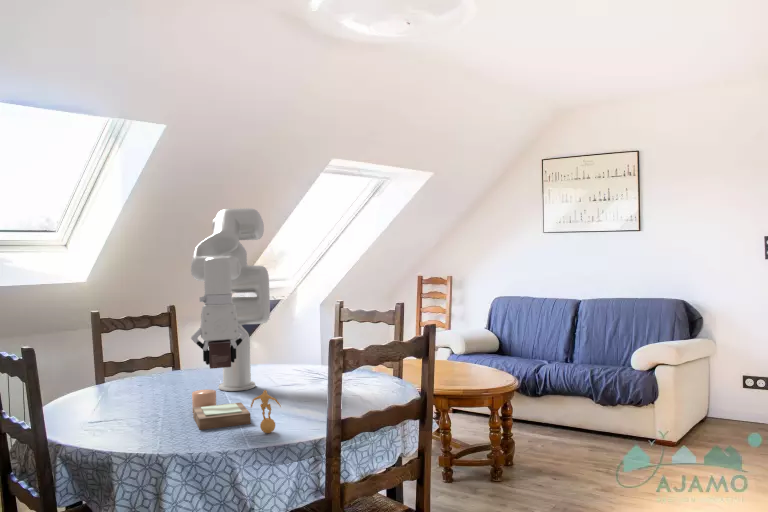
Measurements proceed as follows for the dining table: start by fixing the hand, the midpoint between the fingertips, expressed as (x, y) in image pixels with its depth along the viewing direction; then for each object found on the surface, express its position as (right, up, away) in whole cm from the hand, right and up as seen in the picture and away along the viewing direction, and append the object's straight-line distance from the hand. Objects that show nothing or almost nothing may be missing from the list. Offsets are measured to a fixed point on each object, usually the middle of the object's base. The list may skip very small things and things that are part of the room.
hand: (219, 362), depth 198 cm
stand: (0, -17, 0) cm, 17 cm away
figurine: (+16, -17, -14) cm, 27 cm away
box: (0, -1, 0) cm, 1 cm away
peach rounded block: (-7, -17, +11) cm, 21 cm away
